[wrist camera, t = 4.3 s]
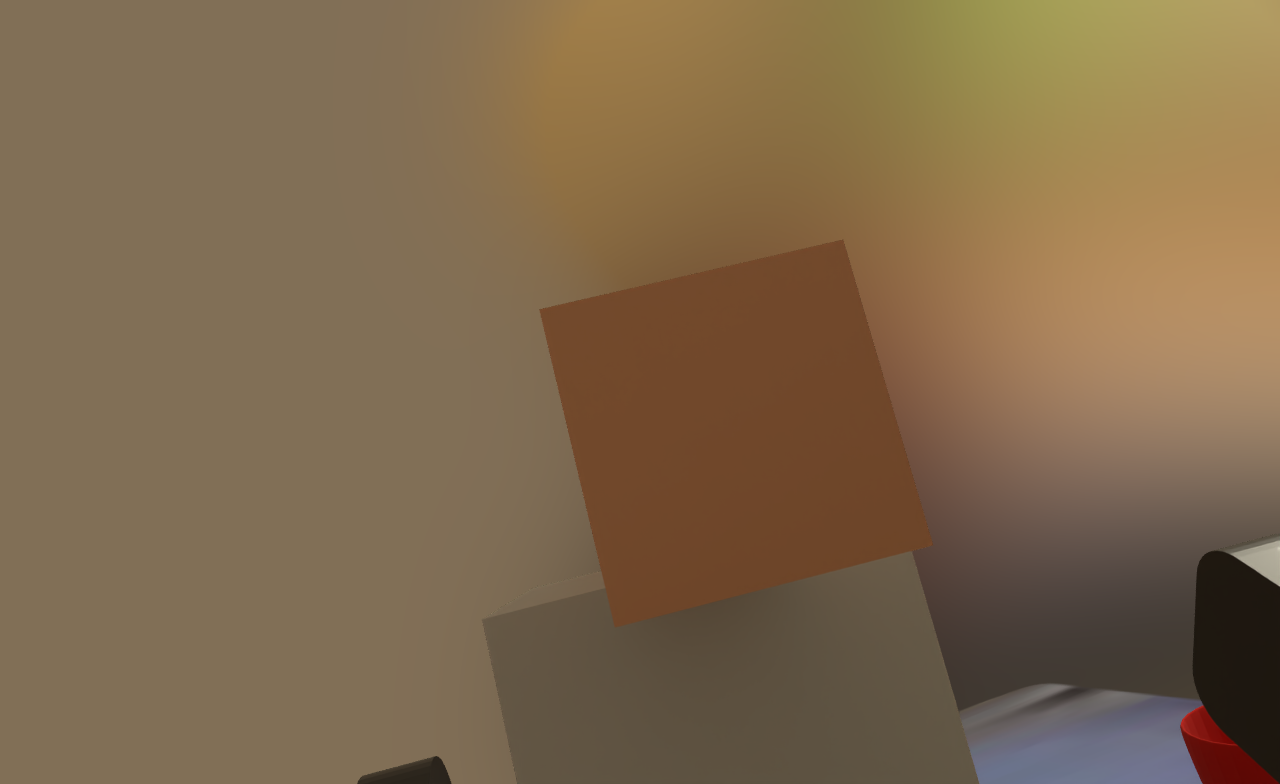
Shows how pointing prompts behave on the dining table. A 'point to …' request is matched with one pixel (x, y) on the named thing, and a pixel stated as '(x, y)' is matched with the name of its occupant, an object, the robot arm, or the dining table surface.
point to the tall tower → (731, 686)
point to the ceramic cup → (1218, 753)
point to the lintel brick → (732, 432)
